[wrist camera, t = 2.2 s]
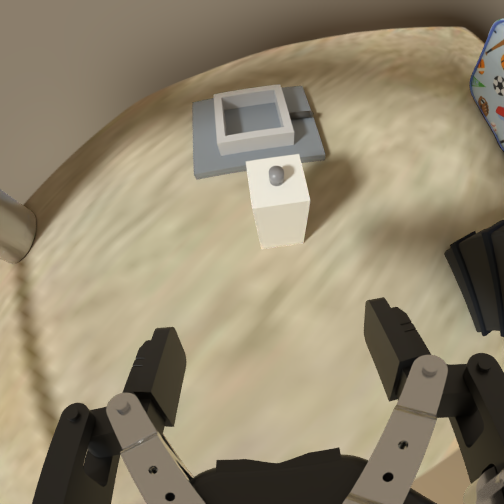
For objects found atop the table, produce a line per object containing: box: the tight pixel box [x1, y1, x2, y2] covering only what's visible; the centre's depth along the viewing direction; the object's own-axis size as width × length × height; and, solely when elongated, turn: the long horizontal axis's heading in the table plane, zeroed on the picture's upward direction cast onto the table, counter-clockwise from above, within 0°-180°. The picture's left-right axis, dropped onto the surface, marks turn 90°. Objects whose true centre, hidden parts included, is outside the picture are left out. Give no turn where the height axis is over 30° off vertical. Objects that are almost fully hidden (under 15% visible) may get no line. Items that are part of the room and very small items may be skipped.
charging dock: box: [193, 84, 325, 179], centre depth 37 cm, size 16×13×4 cm
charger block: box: [246, 154, 310, 250], centre depth 29 cm, size 5×5×11 cm
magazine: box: [445, 220, 504, 337], centre depth 24 cm, size 4×13×15 cm, turn 21°
